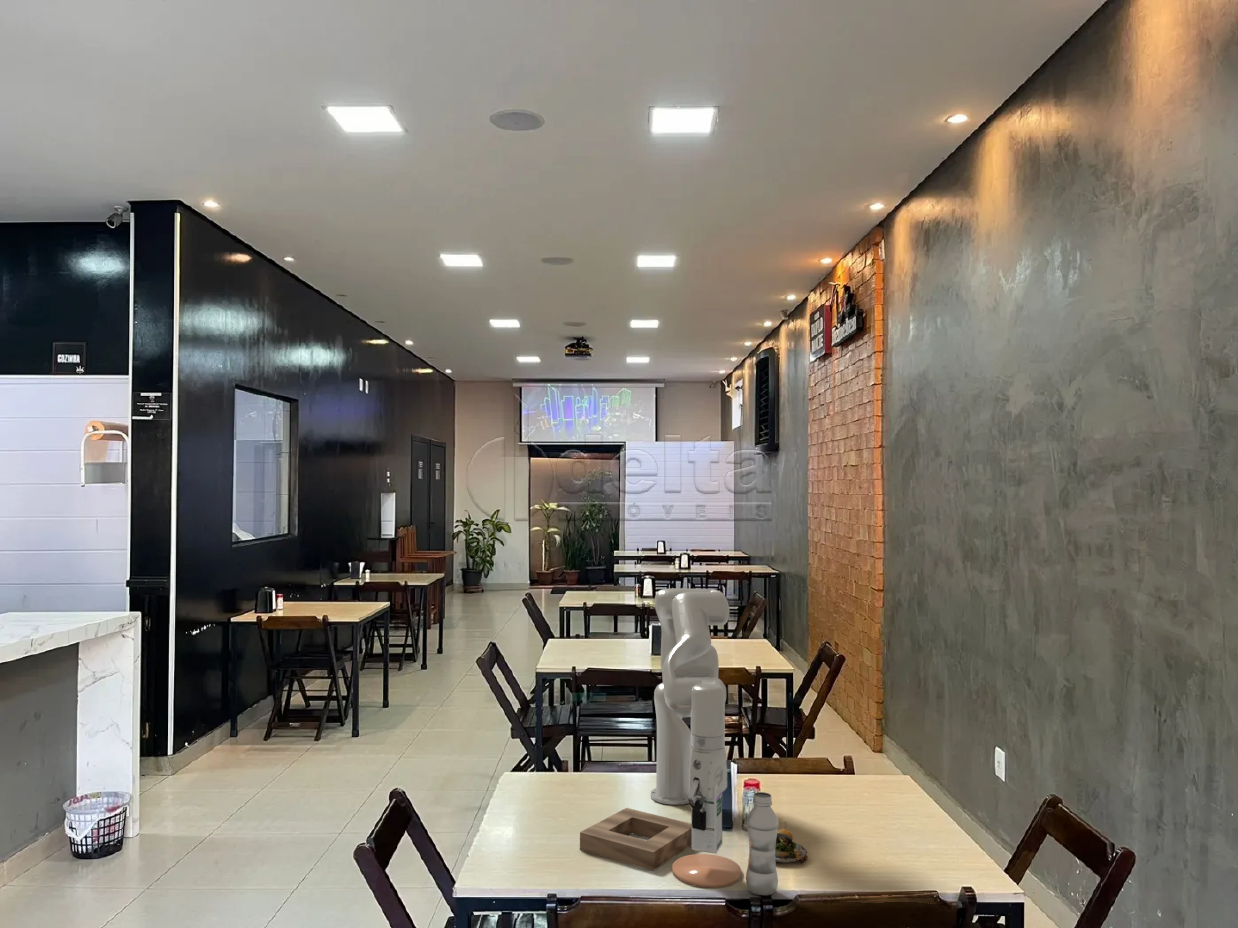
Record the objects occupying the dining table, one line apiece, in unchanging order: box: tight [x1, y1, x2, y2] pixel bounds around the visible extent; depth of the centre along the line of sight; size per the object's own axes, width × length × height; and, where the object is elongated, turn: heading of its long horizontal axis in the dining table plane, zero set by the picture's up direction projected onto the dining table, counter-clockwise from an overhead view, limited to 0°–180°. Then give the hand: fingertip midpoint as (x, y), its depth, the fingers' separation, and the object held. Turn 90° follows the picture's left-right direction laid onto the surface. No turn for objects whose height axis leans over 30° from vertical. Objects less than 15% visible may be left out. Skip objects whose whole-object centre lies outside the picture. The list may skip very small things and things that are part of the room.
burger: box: [775, 821, 808, 865], centre depth 197 cm, size 12×12×8 cm
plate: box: [671, 853, 742, 889], centre depth 187 cm, size 15×15×1 cm
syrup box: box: [690, 784, 723, 854], centre depth 188 cm, size 6×6×14 cm
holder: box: [579, 807, 692, 872], centre depth 202 cm, size 20×20×4 cm
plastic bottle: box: [745, 791, 780, 896], centre depth 178 cm, size 6×7×20 cm
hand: (706, 823), depth 188 cm, fingers closed on syrup box, 6 cm apart
